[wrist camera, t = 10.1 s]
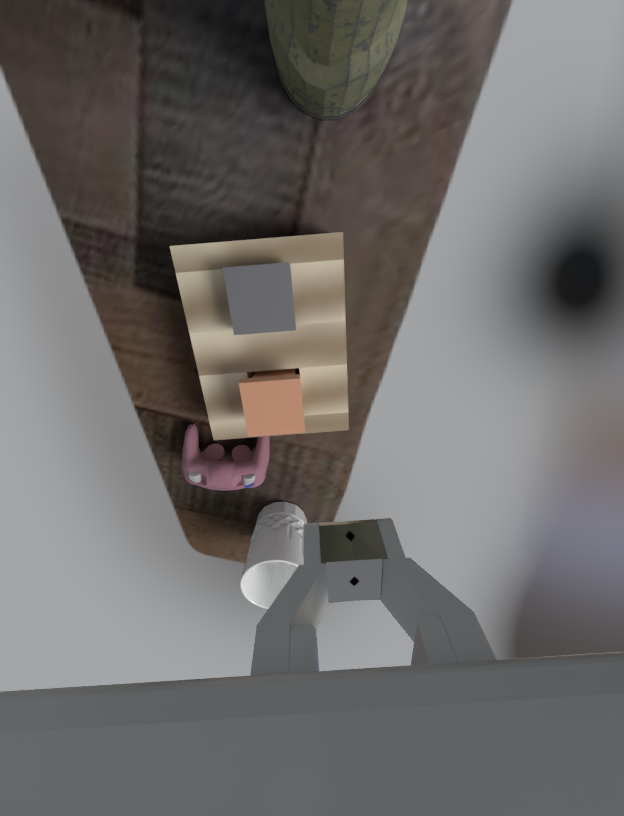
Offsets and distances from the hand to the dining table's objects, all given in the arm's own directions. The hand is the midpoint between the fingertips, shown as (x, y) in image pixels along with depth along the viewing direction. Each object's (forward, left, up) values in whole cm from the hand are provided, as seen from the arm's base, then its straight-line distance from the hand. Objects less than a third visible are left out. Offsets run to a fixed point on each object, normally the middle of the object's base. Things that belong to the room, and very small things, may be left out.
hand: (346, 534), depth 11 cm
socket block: (-2, -4, -26) cm, 26 cm away
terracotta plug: (+3, -4, -24) cm, 25 cm away
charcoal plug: (-6, -4, -26) cm, 27 cm away
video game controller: (+11, -11, -26) cm, 31 cm away
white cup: (+23, -6, -26) cm, 36 cm away
